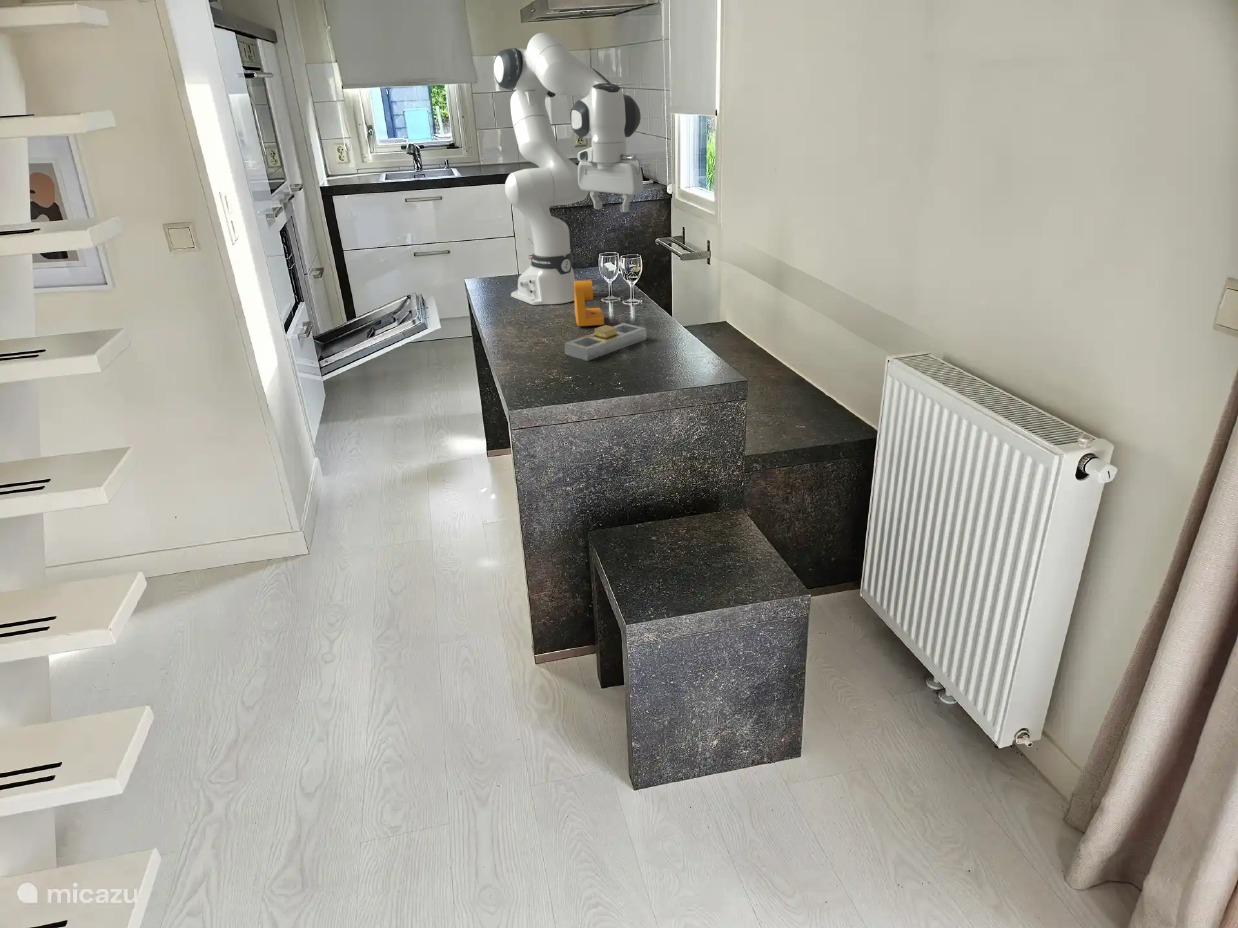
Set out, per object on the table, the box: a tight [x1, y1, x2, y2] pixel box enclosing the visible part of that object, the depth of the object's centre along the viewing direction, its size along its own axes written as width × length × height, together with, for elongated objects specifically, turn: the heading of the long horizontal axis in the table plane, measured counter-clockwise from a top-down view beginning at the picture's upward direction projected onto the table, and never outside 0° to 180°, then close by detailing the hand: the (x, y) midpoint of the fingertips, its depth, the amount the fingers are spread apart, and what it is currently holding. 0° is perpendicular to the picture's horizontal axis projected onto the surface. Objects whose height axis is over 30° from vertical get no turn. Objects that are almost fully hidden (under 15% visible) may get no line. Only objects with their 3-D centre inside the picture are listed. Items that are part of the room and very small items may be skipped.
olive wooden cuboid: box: [594, 324, 617, 340], centre depth 209 cm, size 4×4×5 cm
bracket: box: [574, 279, 605, 327], centre depth 227 cm, size 11×7×12 cm, turn 8°
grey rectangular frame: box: [563, 322, 647, 361], centre depth 209 cm, size 8×22×3 cm, turn 137°
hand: (611, 210), depth 212 cm, fingers open, 8 cm apart
